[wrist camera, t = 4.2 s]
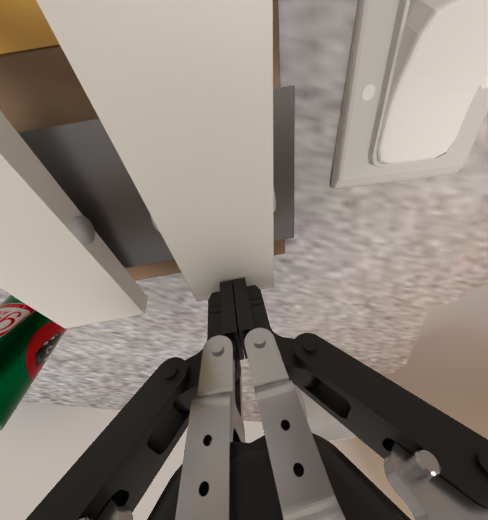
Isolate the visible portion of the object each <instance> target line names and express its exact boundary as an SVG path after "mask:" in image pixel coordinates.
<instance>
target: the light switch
mask: <svg viewBox="0 0 488 520" xmlns="http://www.w3.org/2000/svg"><path fill="white" fill-rule="evenodd" d="M487 112H488V0H358V7H357V13H356V20H355V26H354V33H353V39H352V45H351V52H350V58H349V65H348V71H347V78H346V84H345V91H344V97H343V104H342V110H341V116H340V123H339V129H338V136H337V142H336V149H335V156H334V164H333V171H332V179H331V187H333V188H335V189H338V188H346V187H354V186H362V185H370V184H378V183H386V182H394V181H402V180H410V179H418V178H426V177H434V176H442V175H450V174H454V173H456V172H457V171H459V170H460V169H461V168H462V167H463V166H464V165H465V162H466V160H467V158H468V155H469V153H470V151H471V149H472V146H473V144H474V142H475V139H476V137H477V135H478V133H479V130H480V128H481V126H482V124H483V121H484V119H485V117H486V114H487Z"/></svg>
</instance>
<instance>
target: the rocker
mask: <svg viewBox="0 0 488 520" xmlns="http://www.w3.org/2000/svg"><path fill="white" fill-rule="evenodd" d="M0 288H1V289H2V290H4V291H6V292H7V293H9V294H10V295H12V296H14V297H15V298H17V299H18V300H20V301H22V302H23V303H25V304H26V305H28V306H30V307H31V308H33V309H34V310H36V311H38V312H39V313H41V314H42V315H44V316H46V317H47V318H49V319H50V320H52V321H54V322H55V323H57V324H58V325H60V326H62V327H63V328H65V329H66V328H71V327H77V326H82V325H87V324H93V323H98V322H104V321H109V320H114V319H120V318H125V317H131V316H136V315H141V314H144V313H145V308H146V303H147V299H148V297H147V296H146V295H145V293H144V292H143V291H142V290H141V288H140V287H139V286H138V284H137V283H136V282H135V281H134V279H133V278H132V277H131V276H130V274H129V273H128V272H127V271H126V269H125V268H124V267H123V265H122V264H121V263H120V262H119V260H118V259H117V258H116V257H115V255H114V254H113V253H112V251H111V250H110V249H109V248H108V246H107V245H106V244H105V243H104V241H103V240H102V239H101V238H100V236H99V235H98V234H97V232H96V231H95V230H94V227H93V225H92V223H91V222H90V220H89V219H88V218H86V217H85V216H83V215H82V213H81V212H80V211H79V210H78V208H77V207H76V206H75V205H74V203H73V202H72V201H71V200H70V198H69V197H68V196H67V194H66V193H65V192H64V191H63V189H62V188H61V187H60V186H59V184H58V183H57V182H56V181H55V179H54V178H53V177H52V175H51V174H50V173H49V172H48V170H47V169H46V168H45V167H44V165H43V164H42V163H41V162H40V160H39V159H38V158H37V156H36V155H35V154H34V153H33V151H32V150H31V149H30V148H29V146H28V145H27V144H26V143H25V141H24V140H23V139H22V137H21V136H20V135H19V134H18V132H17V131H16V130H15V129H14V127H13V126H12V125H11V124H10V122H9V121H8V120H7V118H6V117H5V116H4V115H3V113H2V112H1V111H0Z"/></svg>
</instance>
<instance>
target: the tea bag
mask: <svg viewBox="0 0 488 520" xmlns="http://www.w3.org/2000/svg"><path fill="white" fill-rule="evenodd" d="M294 387H295V389H296V392H297V395H298V397H299V400H300V403H301V405H302V408H303V411H304V413H305V416H306V419H307V422H308V424H309V427H310V430H311V432H312V433H314V434H316V435H318V436H321V437H322V438H324V439H326V440H327V441H334V440H341V439H348V438H354V437H357V436H356V435H354V434H353V433H352V432H351V431H350V430H348V429H347V428H346V427H345V426H344V425H342V424H341V423H340V422H339V421H338V420H336V419H335V418H334V417H333V416H332V415H330V414H329V413H328V412H327V411H326V410H324V409H323V408H322V407H321V406H319V405H318V404H317V403H316V402H315V401H313V400H312V399H311V398H310V397H309V396H307V395H306V394H305V393H304V392H303V391H301V390H300V389H299V388H298V387H297V386H296V385H294Z"/></svg>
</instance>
